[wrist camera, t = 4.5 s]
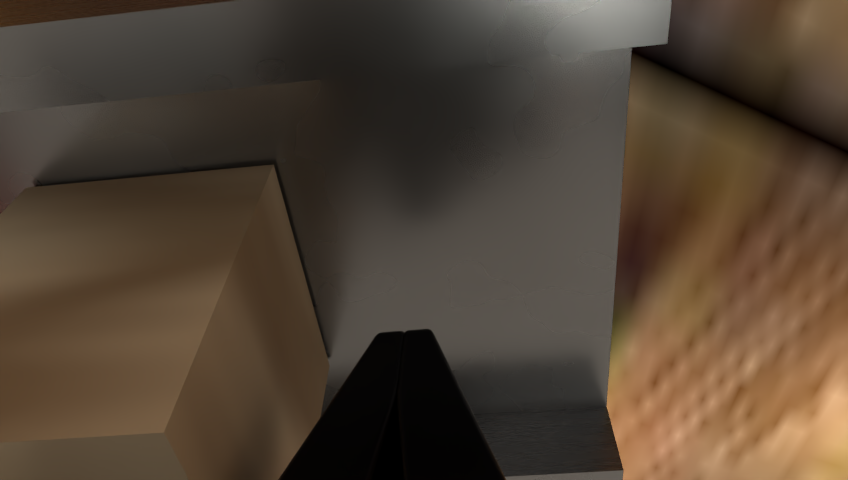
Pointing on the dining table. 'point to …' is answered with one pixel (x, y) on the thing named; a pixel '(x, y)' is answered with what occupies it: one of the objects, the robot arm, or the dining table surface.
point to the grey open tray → (379, 169)
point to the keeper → (155, 330)
